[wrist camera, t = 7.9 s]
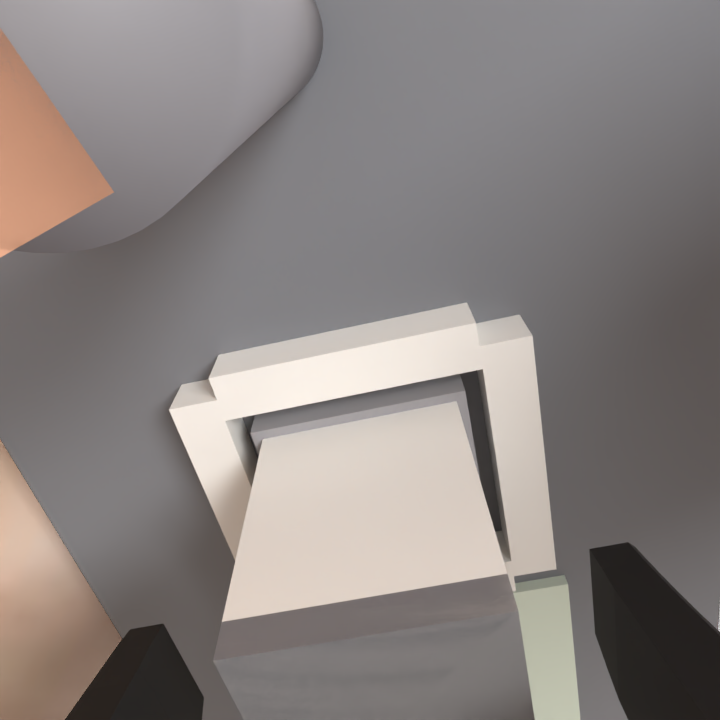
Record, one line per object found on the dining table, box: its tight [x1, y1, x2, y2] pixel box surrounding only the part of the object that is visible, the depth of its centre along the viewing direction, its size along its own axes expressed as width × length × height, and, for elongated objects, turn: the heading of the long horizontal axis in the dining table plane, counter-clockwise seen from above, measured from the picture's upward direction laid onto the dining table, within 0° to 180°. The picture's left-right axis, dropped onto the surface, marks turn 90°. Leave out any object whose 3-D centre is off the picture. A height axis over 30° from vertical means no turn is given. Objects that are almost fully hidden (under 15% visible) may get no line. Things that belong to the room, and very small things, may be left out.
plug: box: [213, 374, 535, 720], centre depth 11 cm, size 4×4×6 cm
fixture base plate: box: [0, 0, 720, 720], centre depth 14 cm, size 16×24×2 cm, turn 13°
